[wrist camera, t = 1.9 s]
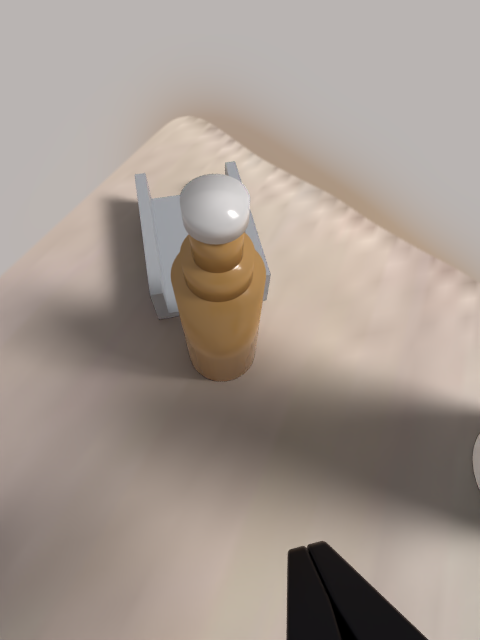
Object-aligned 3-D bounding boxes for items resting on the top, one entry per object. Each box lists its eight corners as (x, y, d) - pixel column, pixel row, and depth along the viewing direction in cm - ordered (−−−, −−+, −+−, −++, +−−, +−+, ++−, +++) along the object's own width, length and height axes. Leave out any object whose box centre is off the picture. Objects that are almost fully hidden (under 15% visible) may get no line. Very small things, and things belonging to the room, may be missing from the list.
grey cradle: (266, 300, 27) (270, 274, 24) (158, 319, 26) (149, 295, 23) (234, 192, 32) (235, 161, 29) (143, 205, 31) (134, 174, 28)
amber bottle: (262, 331, 26) (289, 171, 14) (243, 390, 24) (257, 261, 12) (202, 314, 26) (180, 146, 14) (179, 370, 24) (131, 228, 12)
